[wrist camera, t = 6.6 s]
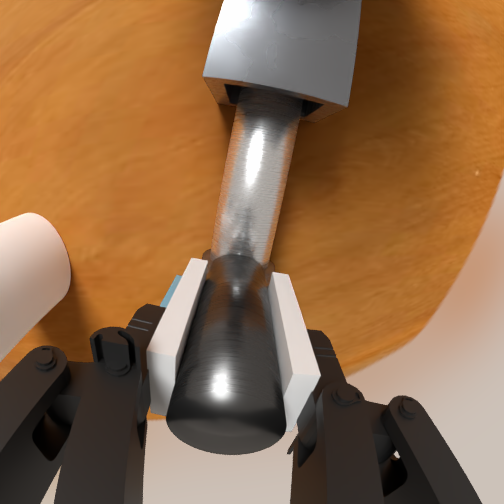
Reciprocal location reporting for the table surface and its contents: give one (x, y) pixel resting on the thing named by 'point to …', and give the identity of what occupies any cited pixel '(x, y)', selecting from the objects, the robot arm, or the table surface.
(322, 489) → the robot arm
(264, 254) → the handle
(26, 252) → the cup
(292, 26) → the block
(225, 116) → the table surface
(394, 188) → the table surface
